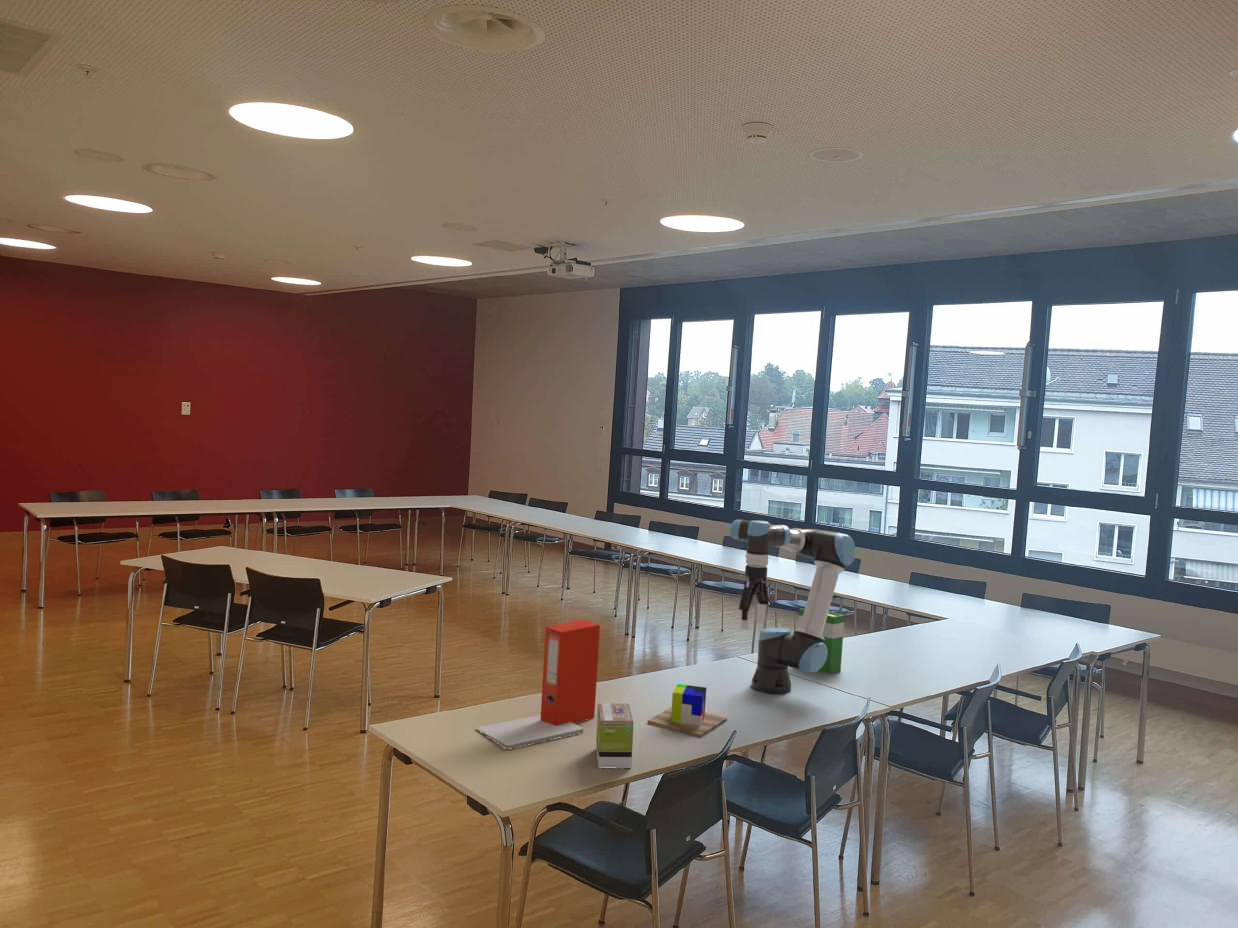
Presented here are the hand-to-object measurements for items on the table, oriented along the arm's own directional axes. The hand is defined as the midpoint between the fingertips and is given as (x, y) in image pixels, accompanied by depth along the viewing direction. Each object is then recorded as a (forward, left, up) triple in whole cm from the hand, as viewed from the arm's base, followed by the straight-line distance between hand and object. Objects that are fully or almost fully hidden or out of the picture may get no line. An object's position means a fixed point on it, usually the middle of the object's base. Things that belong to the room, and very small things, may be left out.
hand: (752, 625), depth 306 cm
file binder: (+45, -45, -32) cm, 71 cm away
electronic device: (+61, -49, -32) cm, 85 cm away
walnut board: (+20, -13, -32) cm, 40 cm away
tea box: (+63, -16, -32) cm, 72 cm away
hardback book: (-75, 0, -32) cm, 82 cm away
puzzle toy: (+20, -13, -31) cm, 39 cm away
